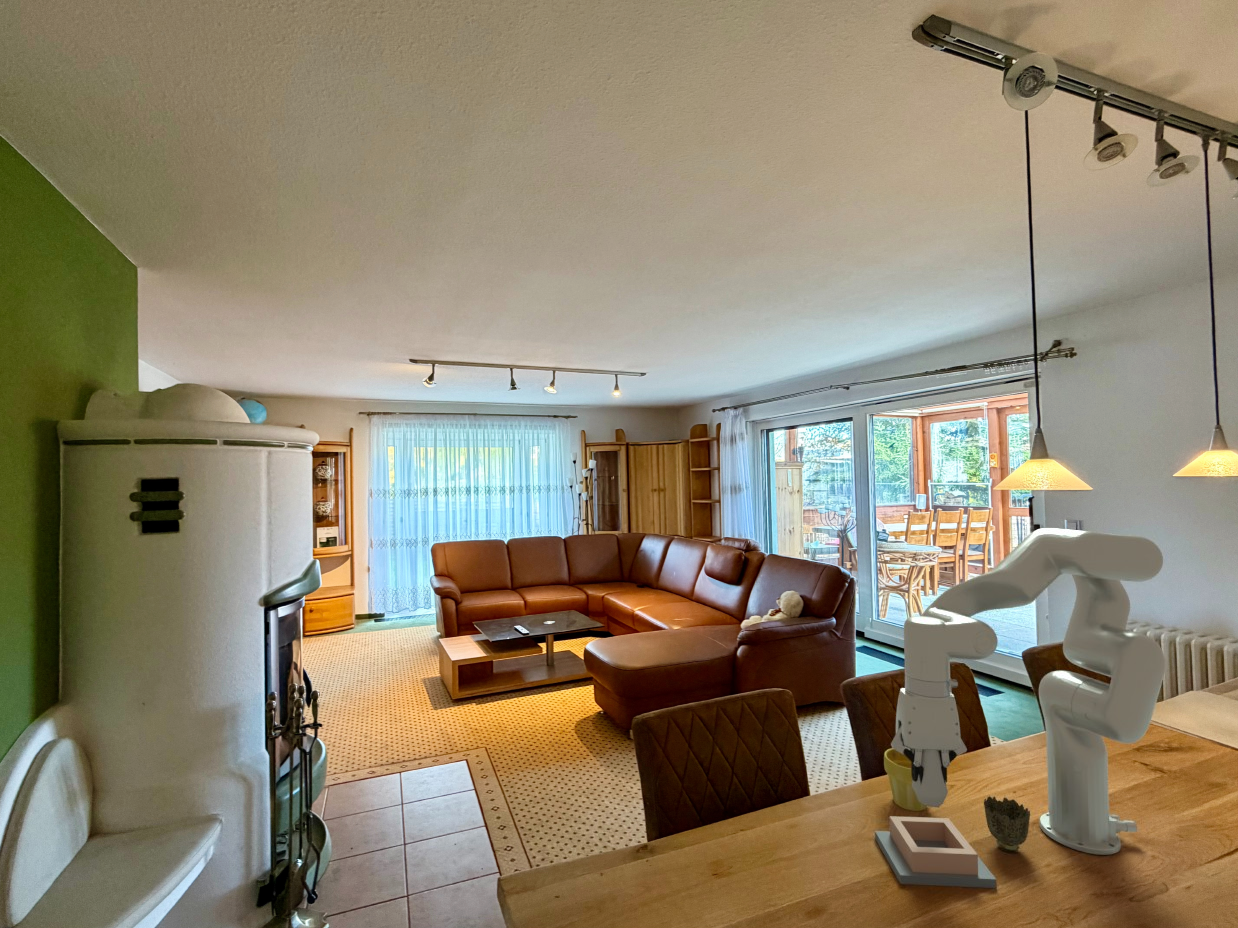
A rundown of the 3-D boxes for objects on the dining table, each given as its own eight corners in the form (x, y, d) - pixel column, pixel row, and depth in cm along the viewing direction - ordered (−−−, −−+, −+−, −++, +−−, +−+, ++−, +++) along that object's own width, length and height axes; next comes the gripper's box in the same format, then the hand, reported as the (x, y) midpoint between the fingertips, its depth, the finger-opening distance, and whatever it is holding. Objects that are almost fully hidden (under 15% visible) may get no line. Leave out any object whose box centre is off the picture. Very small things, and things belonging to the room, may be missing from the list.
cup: (1024, 840, 115) (1023, 798, 115) (1037, 864, 108) (1035, 819, 108) (980, 833, 117) (979, 792, 118) (990, 856, 110) (989, 812, 111)
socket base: (960, 841, 115) (959, 815, 115) (996, 887, 102) (995, 858, 102) (875, 838, 116) (874, 812, 116) (900, 883, 103) (899, 854, 104)
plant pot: (949, 810, 126) (947, 763, 126) (911, 820, 122) (910, 773, 122) (909, 786, 135) (908, 743, 136) (874, 795, 132) (873, 751, 132)
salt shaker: (952, 811, 106) (950, 738, 106) (917, 808, 107) (916, 735, 107) (941, 794, 112) (940, 725, 112) (908, 791, 113) (907, 722, 113)
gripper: (963, 679, 113) (965, 776, 112) (874, 677, 114) (876, 773, 114) (984, 693, 105) (986, 797, 105) (889, 691, 107) (891, 794, 106)
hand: (929, 784), depth 109 cm, fingers closed on salt shaker, 3 cm apart
